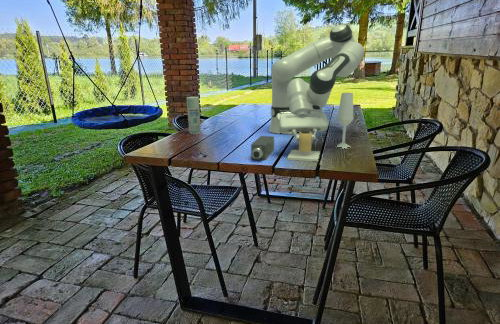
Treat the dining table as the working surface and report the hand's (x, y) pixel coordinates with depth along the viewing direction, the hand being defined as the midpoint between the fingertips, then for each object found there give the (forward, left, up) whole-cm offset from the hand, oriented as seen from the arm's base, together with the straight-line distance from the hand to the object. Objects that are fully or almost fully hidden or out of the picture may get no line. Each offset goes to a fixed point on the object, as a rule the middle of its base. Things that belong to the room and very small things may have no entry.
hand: (305, 139), depth 124 cm
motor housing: (+13, -12, -7) cm, 19 cm away
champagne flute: (-25, -6, -8) cm, 27 cm away
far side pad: (0, -1, -7) cm, 7 cm away
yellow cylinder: (0, 0, -5) cm, 5 cm away
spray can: (+27, -69, -8) cm, 74 cm away
